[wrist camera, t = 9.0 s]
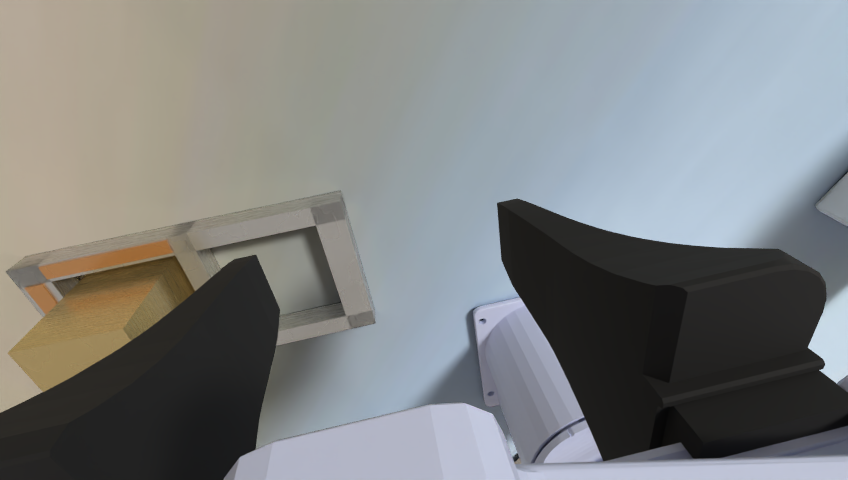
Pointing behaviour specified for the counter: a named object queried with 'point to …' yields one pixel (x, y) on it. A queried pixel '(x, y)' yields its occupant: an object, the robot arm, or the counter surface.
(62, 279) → the grey rectangular frame
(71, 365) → the tan wooden block
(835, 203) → the tea box
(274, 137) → the counter surface
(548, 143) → the counter surface
